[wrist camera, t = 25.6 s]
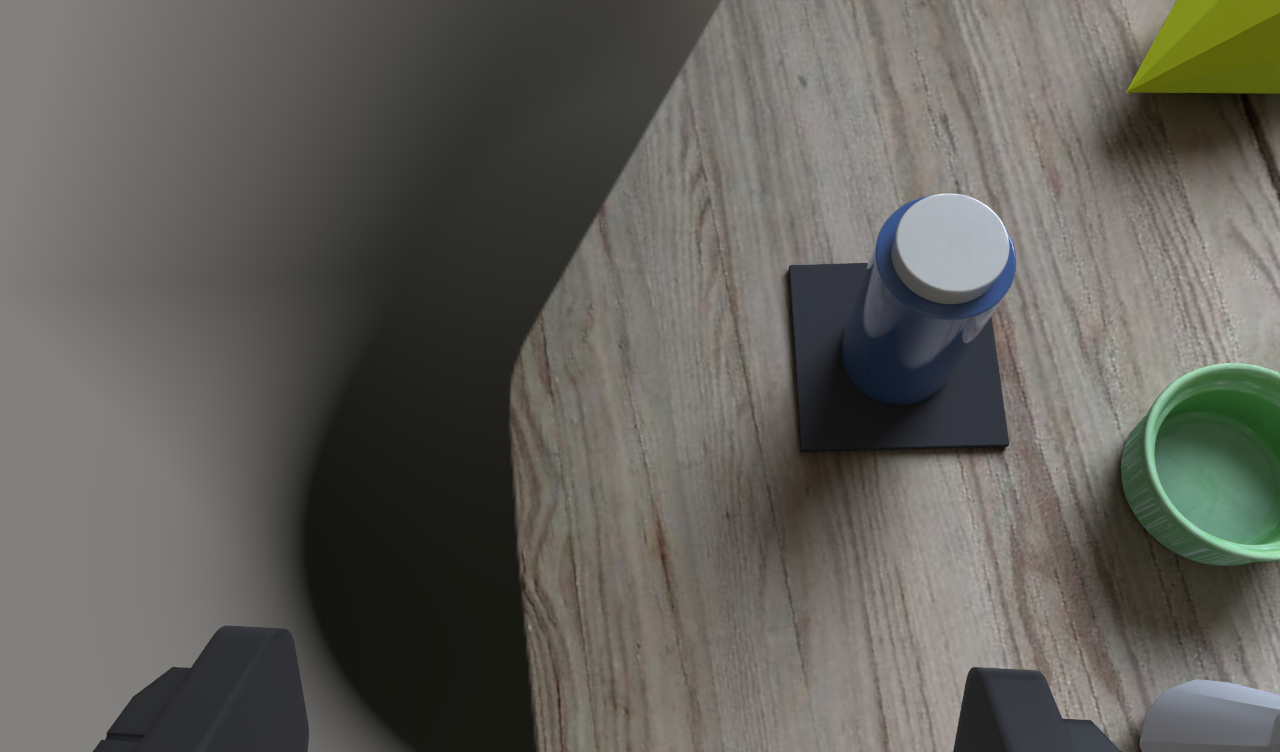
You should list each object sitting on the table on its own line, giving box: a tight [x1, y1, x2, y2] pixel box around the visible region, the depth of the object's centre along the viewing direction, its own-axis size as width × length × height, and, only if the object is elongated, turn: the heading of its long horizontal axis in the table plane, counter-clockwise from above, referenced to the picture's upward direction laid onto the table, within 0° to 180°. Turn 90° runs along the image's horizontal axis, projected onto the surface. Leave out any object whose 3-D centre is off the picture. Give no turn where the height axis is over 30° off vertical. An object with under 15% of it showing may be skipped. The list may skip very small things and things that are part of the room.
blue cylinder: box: [841, 193, 1016, 405], centre depth 46 cm, size 6×6×12 cm
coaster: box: [789, 263, 1009, 452], centre depth 52 cm, size 10×10×1 cm
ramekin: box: [1121, 363, 1280, 566], centre depth 47 cm, size 9×9×4 cm
